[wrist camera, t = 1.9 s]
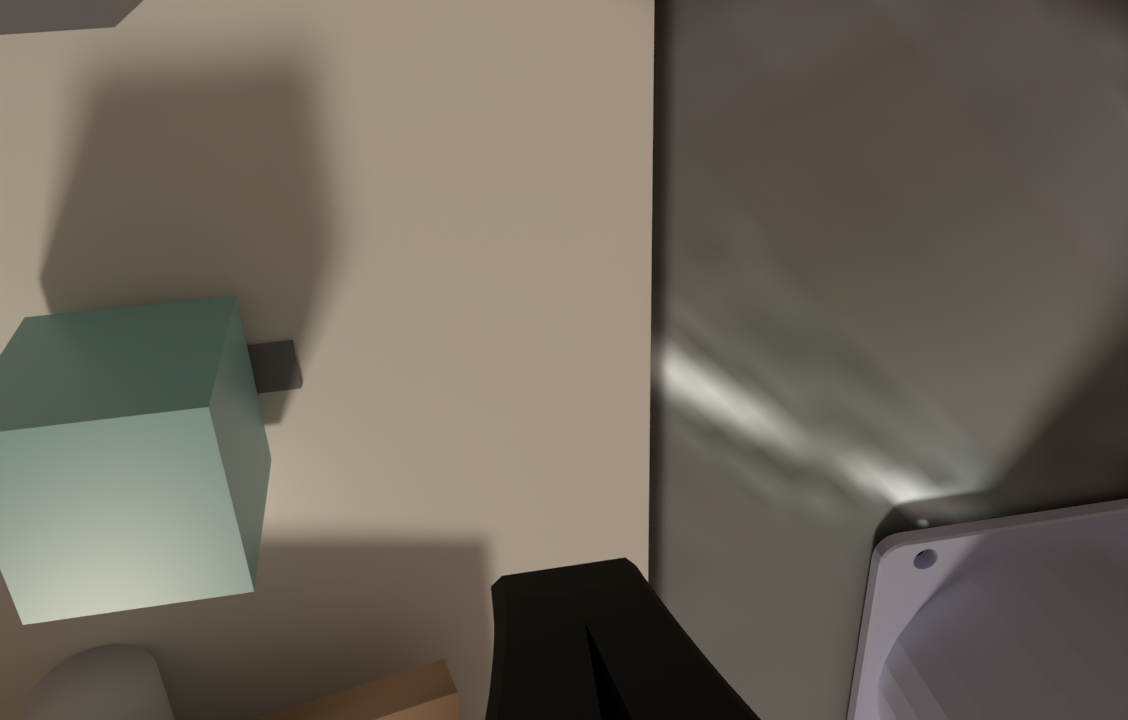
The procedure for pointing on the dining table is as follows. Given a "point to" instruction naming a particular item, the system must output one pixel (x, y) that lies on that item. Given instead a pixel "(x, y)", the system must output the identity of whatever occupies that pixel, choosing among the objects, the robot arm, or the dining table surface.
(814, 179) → the dining table surface
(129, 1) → the graphite slider
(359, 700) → the panel
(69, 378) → the teal slider
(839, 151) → the dining table surface
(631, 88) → the panel
